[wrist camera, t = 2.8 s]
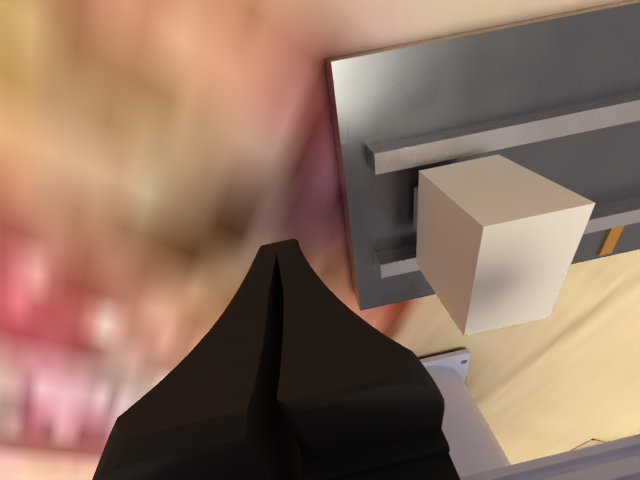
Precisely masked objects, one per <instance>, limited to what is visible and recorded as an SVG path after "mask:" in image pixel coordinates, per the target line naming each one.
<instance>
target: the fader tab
mask: <svg viewBox="0 0 640 480" xmlns="http://www.w3.org/2000/svg"><path fill="white" fill-rule="evenodd" d="M594 206H595V202H593V201H591V200H589V199H587V198H585V197H583V196H581V195H579V194H577V193H575V192H573V191H571V190H569V189H567V188H565V187H563V186H561V185H559V184H557V183H555V182H553V181H551V180H549V179H547V178H545V177H543V176H541V175H539V174H537V173H535V172H533V171H531V170H529V169H527V168H525V167H523V166H521V165H519V164H517V163H515V162H513V161H511V160H509V159H507V158H505V157H503V156H501V155H499V154H497V155H493V156H488V157H483V158H478V159H473V160H468V161H463V162H459V163H454V164H449V165H444V166H439V167H434V168H430V169H425V170H420V171H419V185H418V186H416V187H414V217H413V227H414V229H415V230H416V231H417V248H416V264H417V266H418V267H419V269H420V270H421V272H422V273H423V275H424V277H425V278H426V280H427V281H428V283H429V284H430V286H431V287H432V289H433V290H434V292H435V293H436V295H437V296H438V298H439V299H440V301H441V302H442V304H443V305H444V307H445V308H446V310H447V311H448V313H449V314H450V316H451V317H452V319H453V320H454V322H455V323H456V325H457V327H458V328H459V330H460V331H461V333H462V334H463V336H468V335H472V334H476V333H481V332H485V331H490V330H494V329H499V328H503V327H507V326H512V325H516V324H521V323H525V322H530V321H534V320H539V319H543V318H547V317H549V316H550V314H551V311H552V309H553V306H554V304H555V301H556V299H557V297H558V294H559V292H560V289H561V287H562V284H563V282H564V279H565V277H566V274H567V272H568V269H569V267H570V265H571V262H572V260H573V257H574V255H575V252H576V250H577V247H578V245H579V242H580V240H581V237H582V235H583V233H584V230H585V228H586V225H587V223H588V220H589V218H590V215H591V213H592V210H593V208H594Z"/></svg>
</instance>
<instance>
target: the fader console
mask: <svg viewBox="0 0 640 480" xmlns="http://www.w3.org/2000/svg"><path fill="white" fill-rule="evenodd" d="M324 62H325V70H326V77H327V85H328V93H329V101H330V109H331V117H332V125H333V132H334V140H335V148H336V156H337V164H338V172H339V179H340V187H341V195H342V203H343V211H344V219H345V226H346V234H347V242H348V250H349V258H350V266H351V274H352V281H353V289H354V294H355V297H356V300H357V303H358V306H359V309H360V310H365V309H370V308H374V307H379V306H383V305H388V304H392V303H397V302H401V301H406V300H410V299H415V298H420V297H424V296H429V295H433V294H436V293H435V292H434V290H433V289H432V287H431V286H430V284H429V283H428V281H427V280H426V278H425V277H424V275H423V273H422V272H421V270H420V269H419V267H418V266H417V264H416V248H417V231H416V230H415V229H414V227H413V217H414V187H416V186H418V185H419V171H420V170H425V169H430V168H434V167H439V166H444V165H449V164H454V163H459V162H463V161H468V160H473V159H478V158H483V157H488V156H493V155H497V154H499V155H501V156H503V157H505V158H507V159H509V160H511V161H513V162H515V163H517V164H519V165H521V166H523V167H525V168H527V169H529V170H531V171H533V172H535V173H537V174H539V175H541V176H543V177H545V178H547V179H549V180H551V181H553V182H555V183H557V184H559V185H561V186H563V187H565V188H567V189H569V190H571V191H573V192H575V193H577V194H579V195H581V196H583V197H585V198H587V199H589V200H591V201H593V202H595V206H594V208H593V210H592V213H591V215H590V218H589V220H588V223H587V225H586V228H585V230H584V233H583V235H582V237H581V240H580V242H579V245H578V247H577V250H576V252H575V255H574V257H573V260H572V262H571V264H574V263H579V262H583V261H588V260H592V259H597V258H601V257H606V256H610V255H615V254H620V253H624V252H629V251H633V250H638V249H640V0H629V1H624V2H619V3H614V4H608V5H603V6H598V7H593V8H588V9H582V10H577V11H572V12H567V13H562V14H557V15H551V16H546V17H541V18H536V19H531V20H525V21H520V22H515V23H510V24H505V25H500V26H494V27H489V28H484V29H479V30H474V31H468V32H463V33H458V34H453V35H448V36H443V37H437V38H432V39H427V40H422V41H417V42H412V43H406V44H401V45H396V46H391V47H386V48H380V49H375V50H370V51H365V52H360V53H355V54H349V55H344V56H339V57H334V58H329V59H324Z"/></svg>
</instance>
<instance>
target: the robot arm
mask: <svg viewBox="0 0 640 480" xmlns="http://www.w3.org/2000/svg"><path fill="white" fill-rule="evenodd" d="M470 358H471V354H470V353H469V351H468V350H465V349H464V350H459V351H455V352H450V353H446V354H441V355H437V356H433V357H428V358H424V359H418V358H417V356H416V355H415V354H414V353H413V352H412V351H411V350H409V349H407V348H405V347H404V346H402V345H400V344H398V343H397V342H395V341H394V340H392V339H390V338H389V337H387V336H386V335H384V334H383V333H381V332H380V331H378V330H377V329H375V328H374V327H372V326H371V325H370V324H368V323H367V322H366V321H364V320H363V319H362V318H361V317H359V316H358V315H357V314H355V313H354V312H353V311H352V310H350V309H349V308H348V307H347V306H346V305H345V304H344V303H343V302H341V301H340V300H339V299H338V298H337V297H336V296H335V295H334V294H333V293H332V292H331V291H330V290H329V288H328V287H327V286H326V285H325V284H324V283H323V282H322V280H321V279H320V278H319V277H318V276H317V274H316V273H315V272H314V270H313V269H312V267H311V266H310V265H309V263H308V262H307V260H306V259H305V257H304V255H303V253H302V251H301V249H300V247H299V243H298V241H297V240H296V239H290V240H286V241H281V242H276V243H272V244H267V245H262V246H261V247H260V248H259V250H258V253H257V255H256V257H255V259H254V261H253V263H252V265H251V267H250V269H249V271H248V273H247V275H246V277H245V279H244V280H243V282H242V284H241V286H240V287H239V289H238V291H237V292H236V294H235V296H234V297H233V299H232V300H231V302H230V304H229V305H228V307H227V308H226V309H225V311H224V312H223V314H222V315H221V316H220V318H219V319H218V320H217V322H216V323H215V324H214V326H213V327H212V328H211V329H210V331H209V332H208V333H207V334H206V335H205V336H204V337H203V339H202V340H201V341H200V342H199V343H198V344H197V345H196V346H195V348H194V349H193V350H192V351H191V352H190V353H189V354H188V355H187V356H186V357H185V358H184V359H183V360H182V361H181V362H180V363H179V364H178V365H177V366H176V367H175V368H174V369H173V370H172V371H171V372H170V373H169V374H168V375H167V376H166V377H165V378H164V379H163V380H161V381H160V382H159V383H158V384H157V385H156V386H155V387H154V388H153V389H151V390H150V391H149V392H148V393H147V394H145V395H144V396H143V397H142V398H141V399H140V400H138V401H137V402H136V403H135V404H134V405H132V406H131V407H130V408H129V409H128V410H127V411H125V412H124V413H123V414H122V415H120V416H119V417H118V418H117V420H116V422H115V424H114V427H113V429H112V431H111V433H110V435H109V438H108V440H107V443H106V445H105V448H104V451H103V453H102V456H101V458H100V461H99V464H98V466H97V469H96V471H95V474H94V477H93V479H92V480H640V434H638V435H634V436H630V437H626V438H622V439H617V440H613V441H609V442H605V443H601V444H597V445H593V446H588V447H584V448H580V449H576V450H572V451H568V452H564V453H559V454H555V455H551V456H547V457H543V458H539V459H535V460H531V461H526V462H522V463H518V464H514V465H511V464H510V462H509V460H508V459H507V457H506V455H505V453H504V452H503V450H502V448H501V446H500V445H499V443H498V441H497V439H496V438H495V436H494V434H493V432H492V431H491V429H490V427H489V425H488V424H487V422H486V420H485V418H484V417H483V415H482V413H481V411H480V410H479V408H478V406H477V404H476V403H475V401H474V399H473V397H472V396H471V394H470V392H469V390H468V389H467V387H466V385H465V381H466V377H467V372H468V367H469V362H470Z"/></svg>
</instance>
